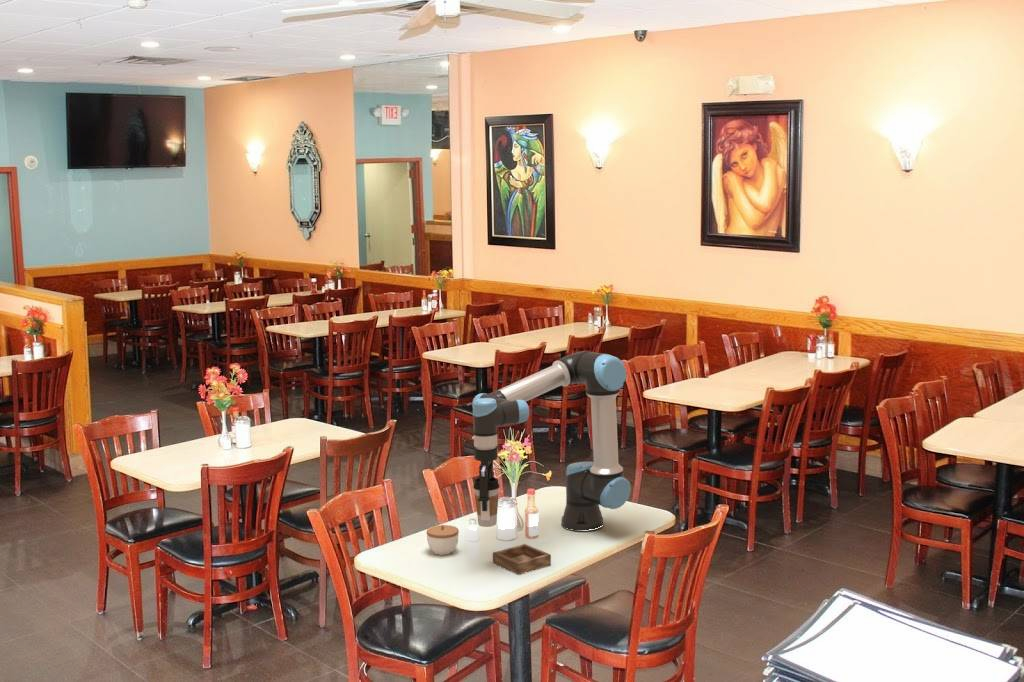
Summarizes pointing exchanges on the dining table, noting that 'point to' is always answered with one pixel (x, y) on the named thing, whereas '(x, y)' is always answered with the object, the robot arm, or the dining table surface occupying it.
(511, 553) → the square brown tray
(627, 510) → the dining table surface
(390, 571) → the dining table surface
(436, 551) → the lidded jar
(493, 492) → the coffee cup
